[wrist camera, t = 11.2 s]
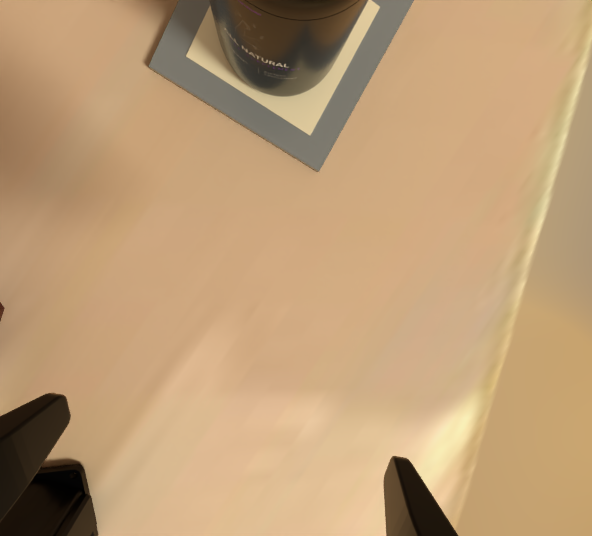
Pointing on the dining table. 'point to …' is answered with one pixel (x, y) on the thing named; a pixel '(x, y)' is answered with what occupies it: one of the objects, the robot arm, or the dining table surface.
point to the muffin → (1, 311)
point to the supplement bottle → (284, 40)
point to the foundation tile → (272, 109)
